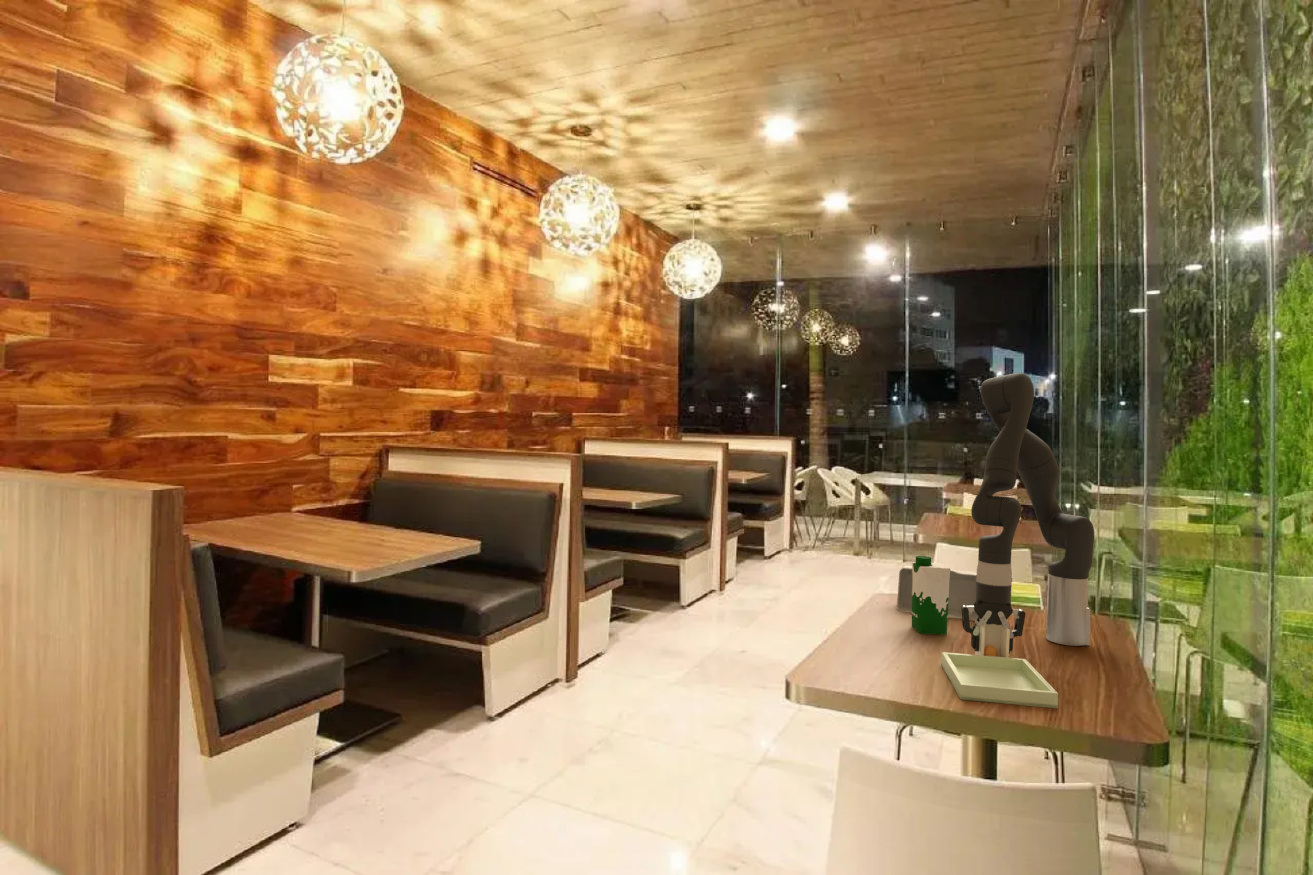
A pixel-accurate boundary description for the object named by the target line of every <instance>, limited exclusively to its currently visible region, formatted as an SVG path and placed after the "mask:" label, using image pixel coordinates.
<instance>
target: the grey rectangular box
mask: <svg viewBox="0 0 1313 875" xmlns="http://www.w3.org/2000/svg"><path fill="white" fill-rule="evenodd" d="M976 578H977V571H969V570H968V571H966V570H965V571H964V570H957V569H956V570H954V569H950V579H949V603H948V618H951V619H952V618H953V619H960V620H962V613H961V606H962V605H965V606H973V605H974V604H975V601H976ZM912 584H913V574H912V565H903V566H902V567H901V568H900V569H899V572H898V585H897V586H898V587H897V599H896V600H897V601H896V609H897V610H898V612H903V613H910V614H912ZM977 617H978V615H977V613H976V612H975V611H972V614H971V615H969V620H970V621H974V622H975V620H976V619H977ZM979 620H980V619H979Z"/></svg>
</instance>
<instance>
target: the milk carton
mask: <svg viewBox="0 0 1313 875" xmlns="http://www.w3.org/2000/svg"><path fill="white" fill-rule="evenodd" d="M911 566H912V574H913V584H912V613H911V628H913V629H914V630H915V631H916V632H918V633H919V634H920V635H946V636H947V634H948V621H949V617H948V603H949V579H950V570H951V568H950V567H948V566H947V565H945V564H943V563H939V562H932V557H930V556H925V555H918V556H917V555H916V556H915V562H914V561H912V562H911Z"/></svg>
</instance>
